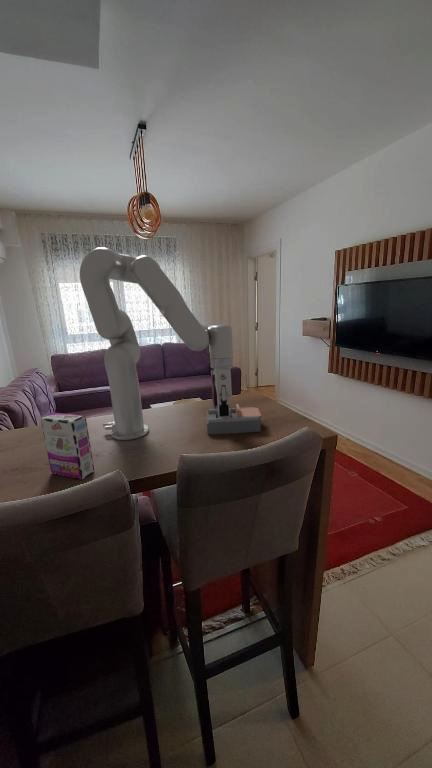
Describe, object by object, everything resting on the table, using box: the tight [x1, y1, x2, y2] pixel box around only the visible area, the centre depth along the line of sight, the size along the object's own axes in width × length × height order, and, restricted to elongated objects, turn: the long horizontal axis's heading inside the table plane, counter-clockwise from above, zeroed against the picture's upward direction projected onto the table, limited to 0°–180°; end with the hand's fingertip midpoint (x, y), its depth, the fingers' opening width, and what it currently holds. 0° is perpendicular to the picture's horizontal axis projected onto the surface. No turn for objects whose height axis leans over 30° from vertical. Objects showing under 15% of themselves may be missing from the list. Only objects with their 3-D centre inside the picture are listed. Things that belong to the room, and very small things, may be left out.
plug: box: [217, 388, 231, 418], centre depth 110 cm, size 4×4×13 cm
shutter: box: [235, 403, 262, 420], centre depth 111 cm, size 8×8×3 cm
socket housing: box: [206, 406, 262, 435], centre depth 112 cm, size 18×11×5 cm, turn 92°
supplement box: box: [210, 369, 218, 409], centre depth 129 cm, size 9×5×16 cm, turn 6°
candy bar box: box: [40, 412, 95, 480], centre depth 85 cm, size 11×5×16 cm, turn 69°
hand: (223, 412), depth 111 cm, fingers closed on plug, 4 cm apart
